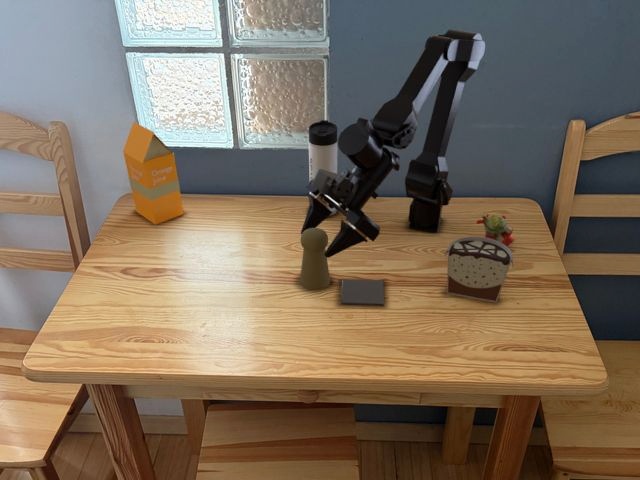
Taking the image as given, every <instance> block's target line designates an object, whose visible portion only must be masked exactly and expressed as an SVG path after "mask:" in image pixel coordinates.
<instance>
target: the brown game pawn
mask: <svg viewBox="0 0 640 480" xmlns="http://www.w3.org/2000/svg"><path fill="white" fill-rule="evenodd" d="M299 242H300V245H301V247H302V248H303V251H302V259H301V266H300V275H299V285H300V286H301V287H302V288H304V289H306V290H309V291H319V290H323V289H326V288H328V287H329V285H330V284H331V275H330V271H329V269H330V268H329V264H328V258H327V257H326V256H325V255H324V254H325V252H326V250H327V249H326V248H327V247H328V244H329V235H328V234H327V232H326V231H325V230H324V229H322V228H319V227H316V228H309V229H307V230H305V231H304V232H303V233H302V234H301V233H300V241H299Z"/></svg>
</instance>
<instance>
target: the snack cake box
mask: <svg viewBox="0 0 640 480" xmlns="http://www.w3.org/2000/svg"><path fill="white" fill-rule="evenodd" d="M446 255H447V270H446V271H447V274H446V294H447V295H452V296H458V297H464V298H469V299H475V300H480V301H484V302H490V303H495V304H497V302H498V300H499V297H500V294H501V292H502V289H503V286H504V283H505V281H506V277H507V275H508V272H509V270H510V266H511V267H512V269H513V268H514V255H513V252H512V251H511V249H510V248H509V247H508V246H506V245H504V244H503V243H501V242H499V241H496V240H493V239H490V238H485V236H464V237H460V238H457V239H455V240H453V241H452V242H451V243H450V244H449V245H448V247H447V249H446V250H445V253H444V257H446Z"/></svg>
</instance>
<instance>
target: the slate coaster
mask: <svg viewBox="0 0 640 480" xmlns="http://www.w3.org/2000/svg"><path fill="white" fill-rule="evenodd" d="M341 280H342V281H341V282H342V283H341V296H340V305H344V306H345V305H346V306H368V307H369V306H370V307H371V306H373V307H385V306H384V305H385V295H384V293H385V290H384V289H385V288H384V287H385V286H384V280H381V279H355V278H353V279H352V278H351V279H350V278H348V279H347V278H342V279H341Z"/></svg>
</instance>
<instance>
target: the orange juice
mask: <svg viewBox="0 0 640 480" xmlns="http://www.w3.org/2000/svg"><path fill="white" fill-rule="evenodd" d="M122 153H123V157H124V160H125V166H126V170H127V175H128V181H129V185H130V190H131V194H132V198H133V203H134V206H135V211H136V213H138V214H139V215H140V216H142V217H144V218H145V219H147V220H148V221H149V222H151V223H153V225H158V224H159V225H160V224H161V223H163V222H167V221H169V220H172V219H174V218H178V217H180V216H182V215H184V214H185V213H184V207H183V200H182V194H181V187H180V181H179V177H178V170H177V164H176V159H175V153H174V152H173V151H171V150H170V148H169V147H168V146H167V145H166V144H165V143H164V142H163V141H162V139H160V138H159V137H158V136H157V135H156V133H155V132H154V131H153V130H151V129H149V128H147V127H144V126H143V125H142V124H141V125H140V124H139V123H137V122H135V121H133V122H132V125H131V128H130V131H129V132H128V136H127V139H126V141H125V145H124V147H123V150H122Z"/></svg>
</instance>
